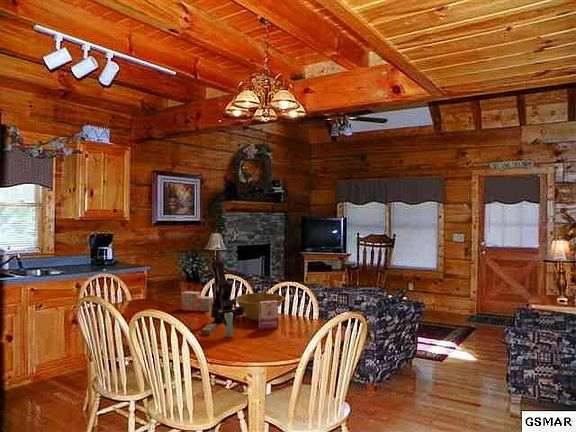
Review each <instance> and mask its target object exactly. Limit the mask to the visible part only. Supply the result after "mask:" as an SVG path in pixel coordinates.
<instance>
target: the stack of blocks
mask: <svg viewBox="0 0 576 432" xmlns="http://www.w3.org/2000/svg"><path fill="white" fill-rule="evenodd" d="M213 300H214V299H213V296H206V295H205V296H204V295H203V296H202V292H201V291H188V290H186V291H182V292H181V310H183V311H196V312H198V311H199V312H207V313H208V312H211V307H212V304H213Z"/></svg>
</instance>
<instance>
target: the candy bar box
mask: <svg viewBox="0 0 576 432" xmlns="http://www.w3.org/2000/svg"><path fill="white" fill-rule="evenodd" d="M258 328H259V330H261V331H264V330H265V331H266V330H276V329H279V307H278V302H277V301H276V300H275V301H260V302H259V320H258Z"/></svg>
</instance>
